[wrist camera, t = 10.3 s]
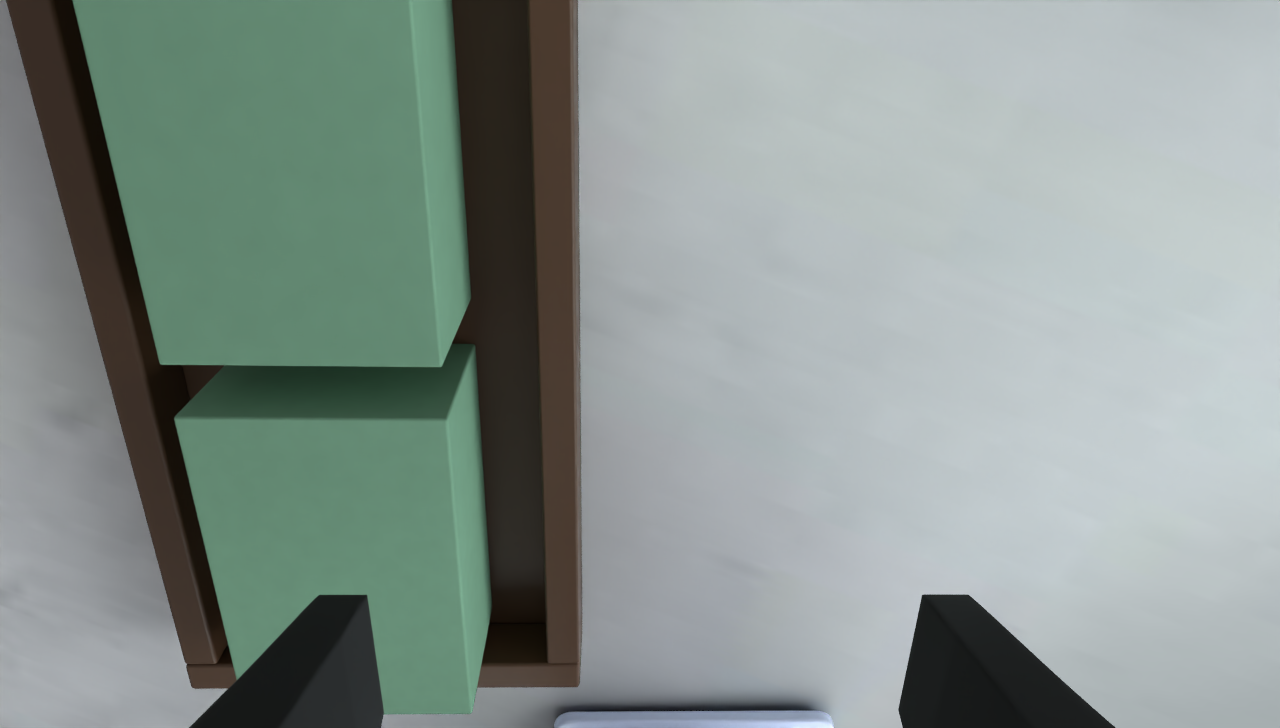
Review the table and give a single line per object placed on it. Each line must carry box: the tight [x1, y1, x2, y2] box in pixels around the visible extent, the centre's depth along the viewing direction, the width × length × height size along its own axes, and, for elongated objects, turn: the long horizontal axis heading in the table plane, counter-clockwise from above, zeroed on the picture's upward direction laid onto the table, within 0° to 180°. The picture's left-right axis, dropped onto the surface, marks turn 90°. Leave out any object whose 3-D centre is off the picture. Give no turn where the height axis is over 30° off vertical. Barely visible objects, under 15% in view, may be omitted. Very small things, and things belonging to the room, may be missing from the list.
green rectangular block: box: [72, 0, 471, 367], centre depth 15 cm, size 8×5×4 cm, turn 179°
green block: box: [174, 344, 492, 714], centre depth 19 cm, size 8×5×4 cm, turn 179°
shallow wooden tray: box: [6, 0, 582, 689], centre depth 18 cm, size 19×10×2 cm, turn 179°
